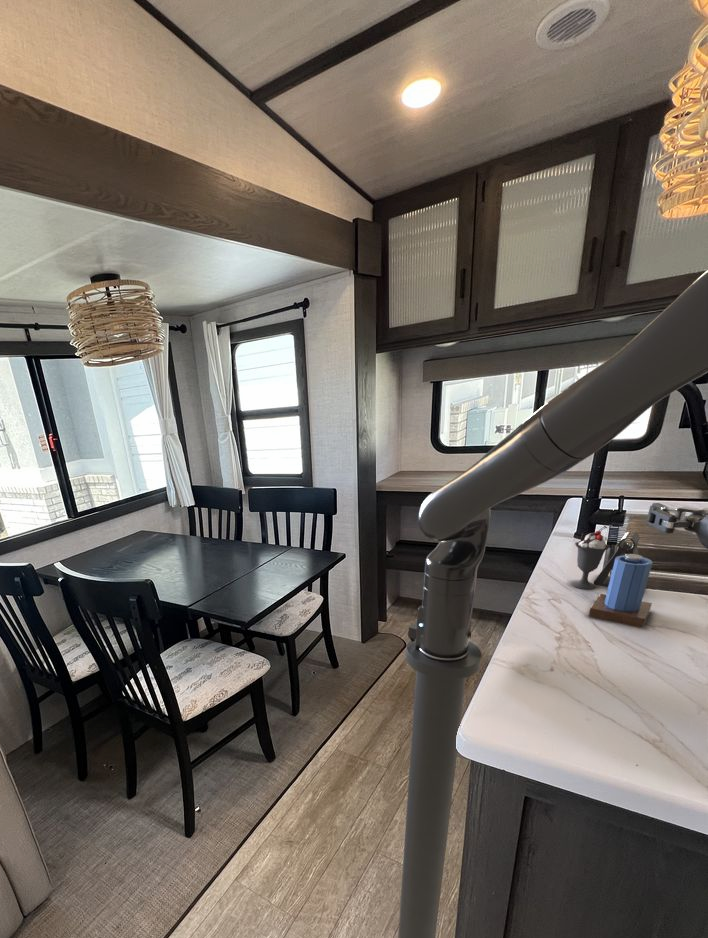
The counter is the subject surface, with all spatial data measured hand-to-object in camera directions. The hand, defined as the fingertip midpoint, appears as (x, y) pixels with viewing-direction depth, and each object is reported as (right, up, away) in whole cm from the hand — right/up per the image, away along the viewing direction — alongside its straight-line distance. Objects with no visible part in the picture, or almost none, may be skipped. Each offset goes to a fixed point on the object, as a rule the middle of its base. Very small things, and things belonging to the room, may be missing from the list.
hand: (683, 508), depth 78 cm
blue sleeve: (+5, -16, +19) cm, 25 cm away
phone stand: (+15, -12, +33) cm, 38 cm away
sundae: (+7, -12, +34) cm, 37 cm away
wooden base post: (+5, -18, +20) cm, 27 cm away
